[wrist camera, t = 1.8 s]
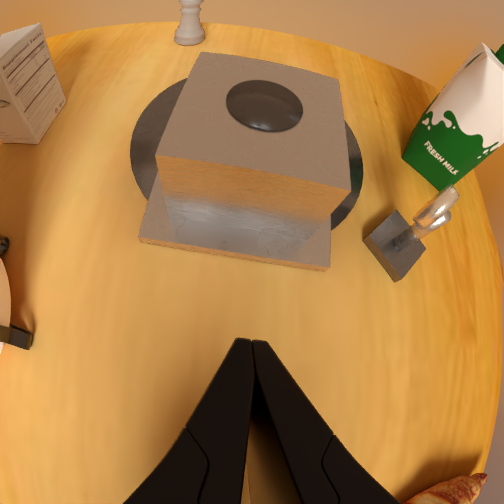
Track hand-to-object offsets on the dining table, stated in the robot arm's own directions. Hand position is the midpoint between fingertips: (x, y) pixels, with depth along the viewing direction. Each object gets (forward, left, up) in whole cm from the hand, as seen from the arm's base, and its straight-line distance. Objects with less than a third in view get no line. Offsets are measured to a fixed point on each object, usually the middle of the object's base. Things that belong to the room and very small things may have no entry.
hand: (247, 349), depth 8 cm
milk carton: (+33, +1, -14) cm, 36 cm away
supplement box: (-5, +33, -14) cm, 36 cm away
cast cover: (+10, +10, -13) cm, 20 cm away
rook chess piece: (+19, +35, -14) cm, 42 cm away
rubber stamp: (+18, -3, -14) cm, 23 cm away
